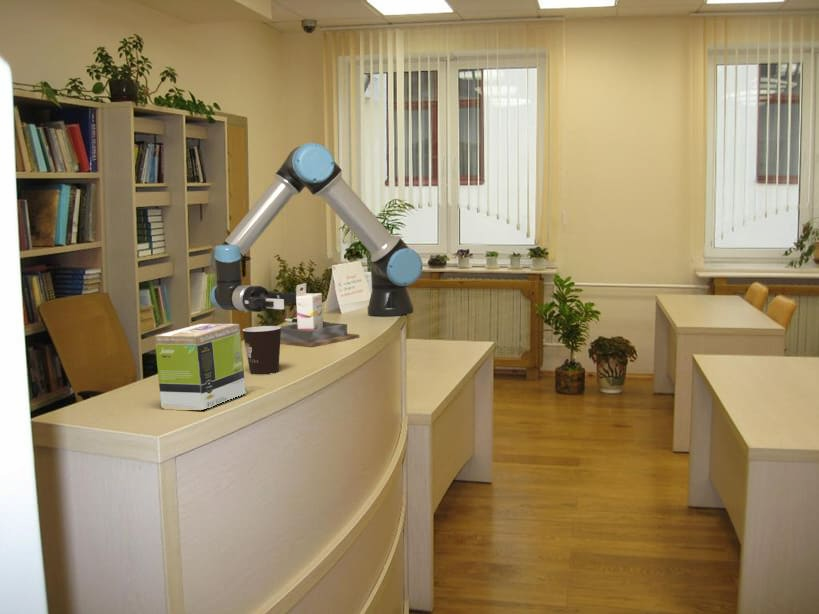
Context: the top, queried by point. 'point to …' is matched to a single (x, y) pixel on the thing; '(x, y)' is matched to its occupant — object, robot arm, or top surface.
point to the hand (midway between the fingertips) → (301, 301)
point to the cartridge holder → (315, 335)
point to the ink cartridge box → (308, 309)
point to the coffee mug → (263, 348)
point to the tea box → (200, 365)
